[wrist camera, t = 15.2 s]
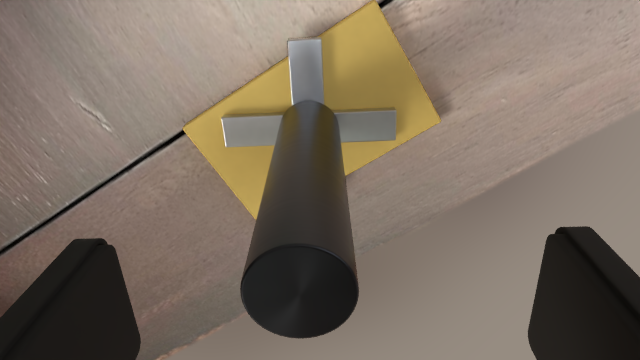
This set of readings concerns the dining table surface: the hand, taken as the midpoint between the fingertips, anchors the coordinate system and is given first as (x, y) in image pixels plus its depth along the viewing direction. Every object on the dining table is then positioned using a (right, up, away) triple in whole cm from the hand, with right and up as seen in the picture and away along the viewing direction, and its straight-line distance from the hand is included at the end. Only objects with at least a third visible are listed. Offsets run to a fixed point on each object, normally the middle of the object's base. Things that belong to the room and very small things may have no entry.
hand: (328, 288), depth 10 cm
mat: (-1, +5, +11) cm, 12 cm away
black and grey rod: (-1, +5, +10) cm, 11 cm away
